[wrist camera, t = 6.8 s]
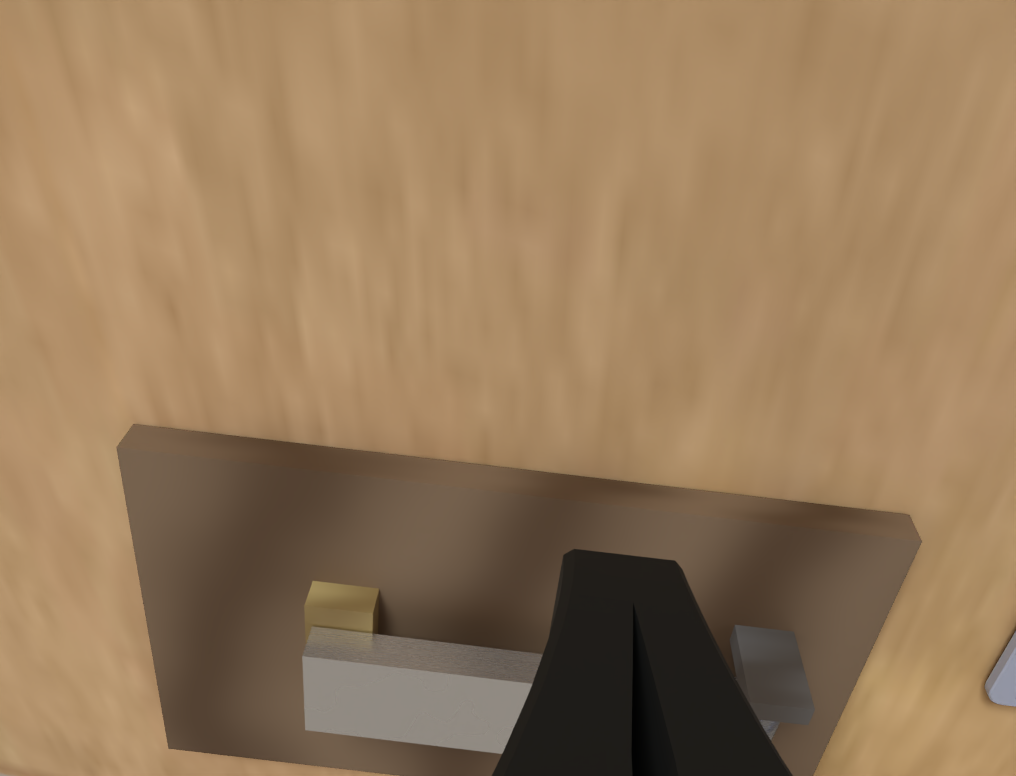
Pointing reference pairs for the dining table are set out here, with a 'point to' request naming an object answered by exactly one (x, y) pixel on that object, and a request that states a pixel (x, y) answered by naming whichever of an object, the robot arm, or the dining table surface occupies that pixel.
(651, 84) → the dining table surface
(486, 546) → the base board
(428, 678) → the strap
